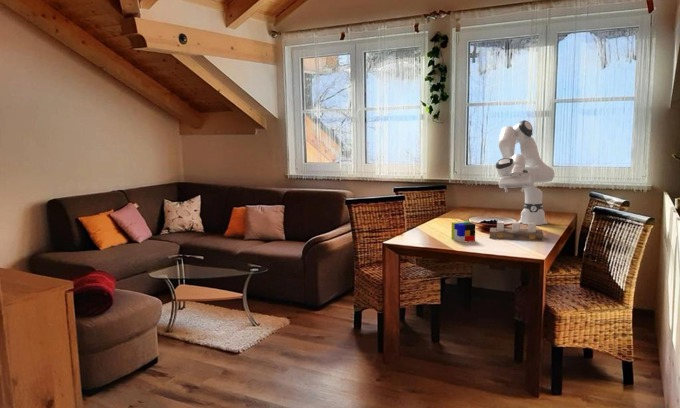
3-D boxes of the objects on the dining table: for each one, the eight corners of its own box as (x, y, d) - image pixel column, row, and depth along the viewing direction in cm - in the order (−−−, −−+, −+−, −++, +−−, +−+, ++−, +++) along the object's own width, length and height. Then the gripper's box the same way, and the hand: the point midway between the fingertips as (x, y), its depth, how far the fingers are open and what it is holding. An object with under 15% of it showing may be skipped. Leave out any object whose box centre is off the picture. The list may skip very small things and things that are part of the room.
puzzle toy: (459, 242, 300) (459, 225, 298) (451, 238, 309) (451, 222, 308) (474, 240, 303) (475, 224, 301) (466, 237, 312) (466, 221, 311)
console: (490, 233, 320) (490, 227, 320) (541, 236, 311) (541, 229, 311) (489, 238, 309) (489, 231, 308) (543, 240, 300) (543, 234, 299)
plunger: (528, 232, 310) (528, 222, 309) (535, 232, 308) (535, 222, 307) (528, 233, 306) (528, 223, 305) (535, 233, 305) (535, 223, 304)
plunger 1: (496, 230, 315) (497, 221, 314) (503, 231, 314) (504, 221, 313) (496, 232, 311) (497, 222, 310) (503, 232, 310) (504, 222, 309)
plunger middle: (512, 231, 312) (512, 221, 311) (519, 231, 311) (519, 222, 310) (512, 232, 308) (512, 223, 308) (519, 233, 307) (519, 223, 306)
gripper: (498, 172, 328) (496, 189, 320) (532, 170, 318) (530, 187, 310) (500, 179, 332) (498, 195, 324) (534, 177, 322) (532, 194, 314)
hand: (514, 191), depth 317 cm, fingers open, 8 cm apart
